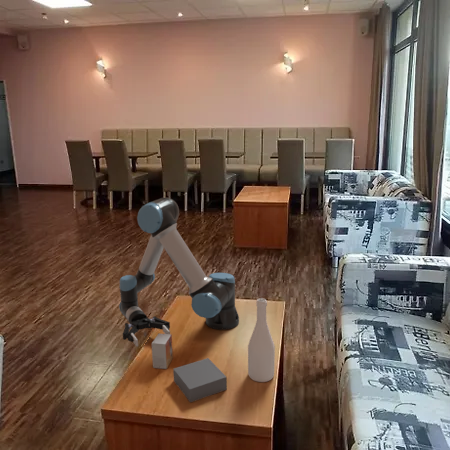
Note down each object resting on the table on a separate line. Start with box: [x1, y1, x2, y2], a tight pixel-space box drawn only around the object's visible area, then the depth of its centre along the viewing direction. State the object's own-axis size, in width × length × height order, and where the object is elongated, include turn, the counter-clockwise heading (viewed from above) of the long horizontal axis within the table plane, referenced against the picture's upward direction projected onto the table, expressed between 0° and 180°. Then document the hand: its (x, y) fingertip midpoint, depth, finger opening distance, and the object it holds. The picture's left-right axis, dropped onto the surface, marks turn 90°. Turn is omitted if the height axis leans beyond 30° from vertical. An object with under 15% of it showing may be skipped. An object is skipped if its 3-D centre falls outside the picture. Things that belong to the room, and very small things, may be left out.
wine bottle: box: [247, 297, 276, 383], centre depth 161 cm, size 10×10×30 cm
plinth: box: [172, 357, 228, 403], centre depth 159 cm, size 14×14×5 cm
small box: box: [151, 332, 174, 370], centre depth 172 cm, size 8×6×10 cm
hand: (153, 338), depth 180 cm, fingers open, 13 cm apart
